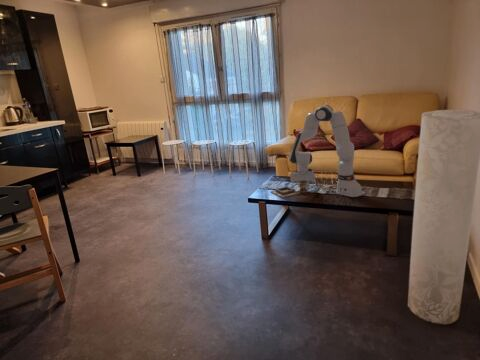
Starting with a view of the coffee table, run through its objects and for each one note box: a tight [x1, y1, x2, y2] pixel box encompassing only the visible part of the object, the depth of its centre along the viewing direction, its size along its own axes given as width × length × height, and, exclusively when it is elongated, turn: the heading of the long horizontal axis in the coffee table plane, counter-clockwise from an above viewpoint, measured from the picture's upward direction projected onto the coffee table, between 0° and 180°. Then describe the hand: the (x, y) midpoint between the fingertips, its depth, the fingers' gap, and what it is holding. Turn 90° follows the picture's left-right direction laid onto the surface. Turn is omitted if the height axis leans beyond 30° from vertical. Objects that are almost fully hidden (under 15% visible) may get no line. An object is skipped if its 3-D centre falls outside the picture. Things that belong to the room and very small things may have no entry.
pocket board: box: [270, 185, 301, 199], centre depth 273 cm, size 17×17×3 cm
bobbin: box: [298, 181, 308, 194], centre depth 273 cm, size 6×6×8 cm
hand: (303, 186), depth 272 cm, fingers closed on bobbin, 5 cm apart
